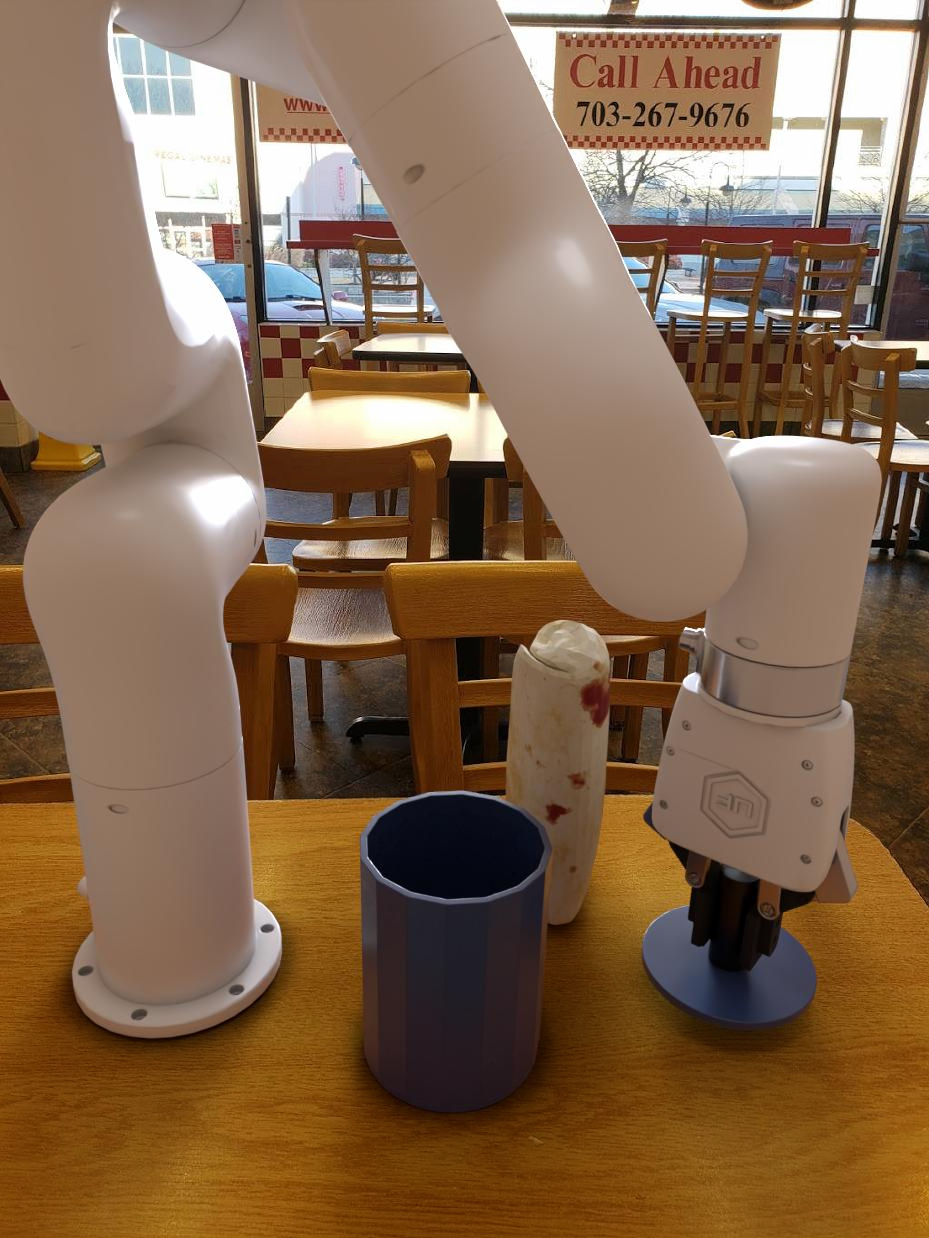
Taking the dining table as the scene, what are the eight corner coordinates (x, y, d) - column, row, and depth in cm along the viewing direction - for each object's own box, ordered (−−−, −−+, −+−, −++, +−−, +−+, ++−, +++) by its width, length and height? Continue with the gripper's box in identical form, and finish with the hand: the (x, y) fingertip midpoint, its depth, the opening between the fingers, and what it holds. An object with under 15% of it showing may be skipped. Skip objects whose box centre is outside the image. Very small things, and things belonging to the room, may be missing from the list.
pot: (327, 1048, 53) (319, 849, 48) (439, 954, 61) (442, 772, 56) (465, 1147, 48) (472, 932, 43) (570, 1030, 55) (586, 835, 50)
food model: (607, 938, 63) (634, 665, 55) (507, 939, 62) (521, 664, 55) (584, 851, 72) (604, 606, 64) (497, 851, 71) (507, 605, 64)
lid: (609, 982, 57) (619, 877, 54) (685, 897, 65) (697, 802, 62) (776, 1069, 51) (796, 956, 49) (837, 965, 59) (858, 862, 56)
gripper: (606, 653, 52) (584, 921, 59) (910, 744, 43) (844, 1048, 50) (667, 616, 58) (641, 865, 65) (948, 690, 49) (884, 971, 56)
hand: (730, 943), depth 57 cm, fingers closed on lid, 2 cm apart
